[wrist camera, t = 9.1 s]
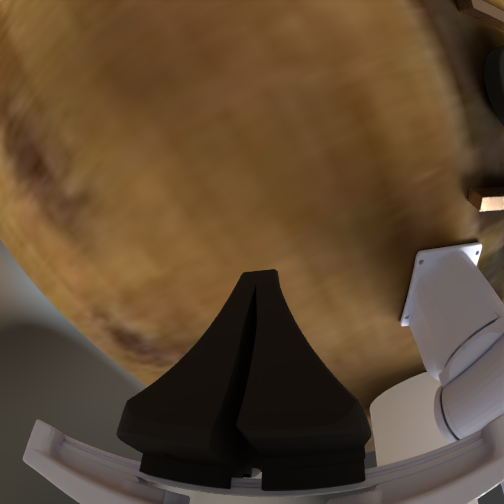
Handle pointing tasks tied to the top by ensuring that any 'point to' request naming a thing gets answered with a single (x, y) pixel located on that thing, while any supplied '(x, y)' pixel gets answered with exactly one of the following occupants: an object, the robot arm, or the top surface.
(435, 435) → the cylinder
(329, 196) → the top surface
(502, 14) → the motor mount
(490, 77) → the caster wheel
